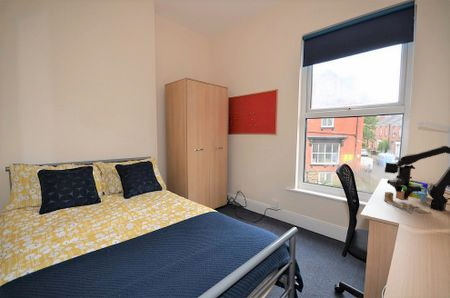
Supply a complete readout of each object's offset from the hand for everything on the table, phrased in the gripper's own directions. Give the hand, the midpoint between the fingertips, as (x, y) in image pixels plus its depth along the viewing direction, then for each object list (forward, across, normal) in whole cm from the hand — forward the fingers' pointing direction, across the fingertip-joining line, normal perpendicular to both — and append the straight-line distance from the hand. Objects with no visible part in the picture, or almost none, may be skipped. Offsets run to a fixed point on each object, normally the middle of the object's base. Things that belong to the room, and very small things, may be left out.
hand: (401, 197), depth 134 cm
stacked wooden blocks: (+3, +3, -7) cm, 8 cm away
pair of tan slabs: (+3, +11, -1) cm, 11 cm away
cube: (+1, 0, 0) cm, 1 cm away
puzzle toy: (+5, -15, +25) cm, 29 cm away
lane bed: (+4, +6, -4) cm, 9 cm away
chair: (+4, -2, +14) cm, 15 cm away
